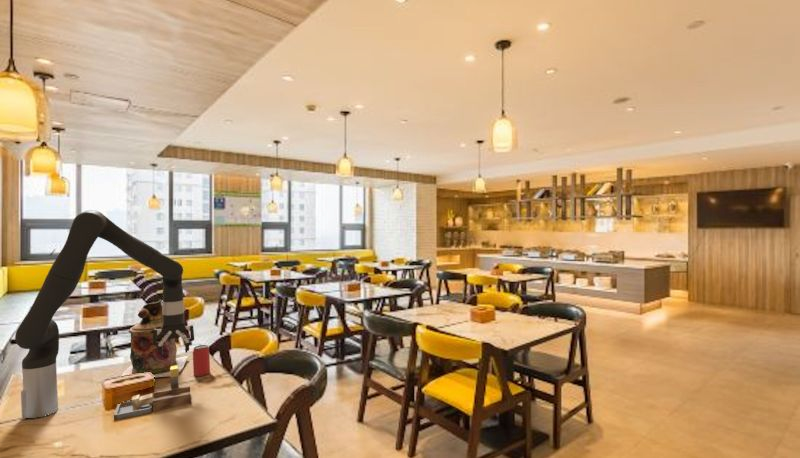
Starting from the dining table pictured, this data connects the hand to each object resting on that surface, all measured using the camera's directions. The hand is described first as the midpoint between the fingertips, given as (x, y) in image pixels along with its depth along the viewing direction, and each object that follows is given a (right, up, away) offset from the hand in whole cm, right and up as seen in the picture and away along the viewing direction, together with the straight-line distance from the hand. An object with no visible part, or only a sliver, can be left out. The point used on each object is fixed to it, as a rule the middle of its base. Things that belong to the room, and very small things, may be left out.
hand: (174, 353), depth 166 cm
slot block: (+4, -15, -9) cm, 18 cm away
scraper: (0, -15, 0) cm, 15 cm away
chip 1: (-5, -13, -14) cm, 20 cm away
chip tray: (-6, -16, -15) cm, 22 cm away
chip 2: (-3, -14, -13) cm, 19 cm away
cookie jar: (-23, -16, +26) cm, 38 cm away
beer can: (+1, -15, +21) cm, 26 cm away
